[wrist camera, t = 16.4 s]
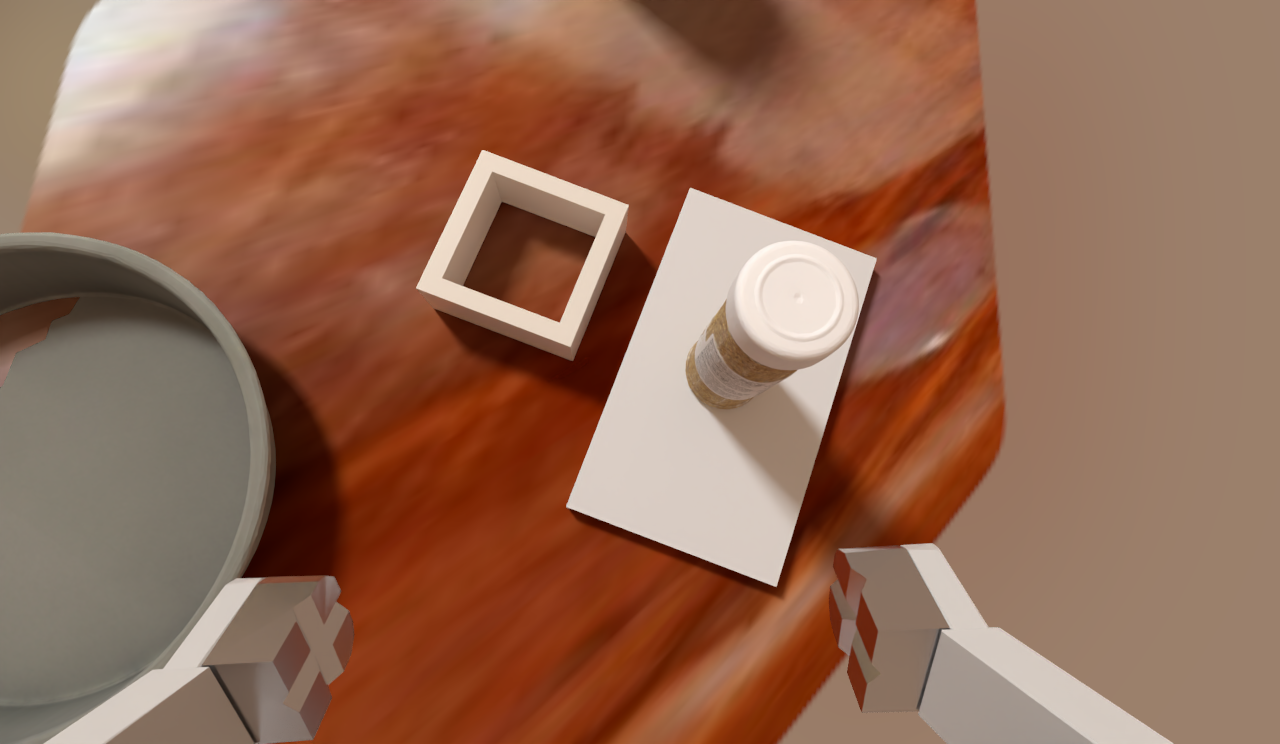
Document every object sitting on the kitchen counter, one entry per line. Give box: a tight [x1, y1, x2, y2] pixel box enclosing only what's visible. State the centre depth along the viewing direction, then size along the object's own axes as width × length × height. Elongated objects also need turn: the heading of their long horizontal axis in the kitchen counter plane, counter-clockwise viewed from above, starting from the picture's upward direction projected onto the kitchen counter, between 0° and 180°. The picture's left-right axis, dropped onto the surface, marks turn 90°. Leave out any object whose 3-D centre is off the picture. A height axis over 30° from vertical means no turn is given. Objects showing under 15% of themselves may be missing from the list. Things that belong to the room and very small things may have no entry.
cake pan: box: [0, 233, 276, 744], centre depth 30 cm, size 25×25×4 cm
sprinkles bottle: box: [685, 241, 859, 409], centre depth 28 cm, size 5×5×14 cm
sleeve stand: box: [416, 150, 629, 361], centre depth 34 cm, size 9×9×4 cm
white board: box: [566, 188, 877, 587], centre depth 35 cm, size 20×12×1 cm, turn 160°
